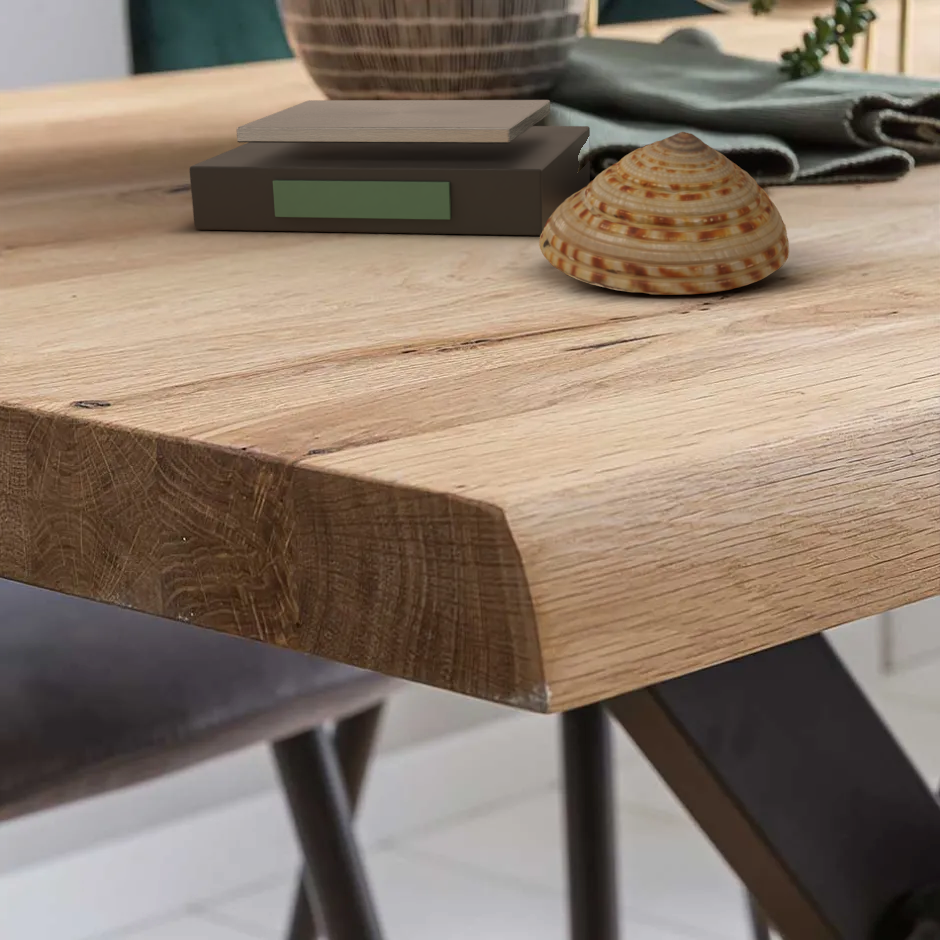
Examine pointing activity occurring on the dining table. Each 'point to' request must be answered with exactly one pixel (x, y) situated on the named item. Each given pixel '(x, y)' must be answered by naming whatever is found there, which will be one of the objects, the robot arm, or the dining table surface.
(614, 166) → the seashell
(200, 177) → the scale
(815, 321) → the dining table surface
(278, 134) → the scale pan
